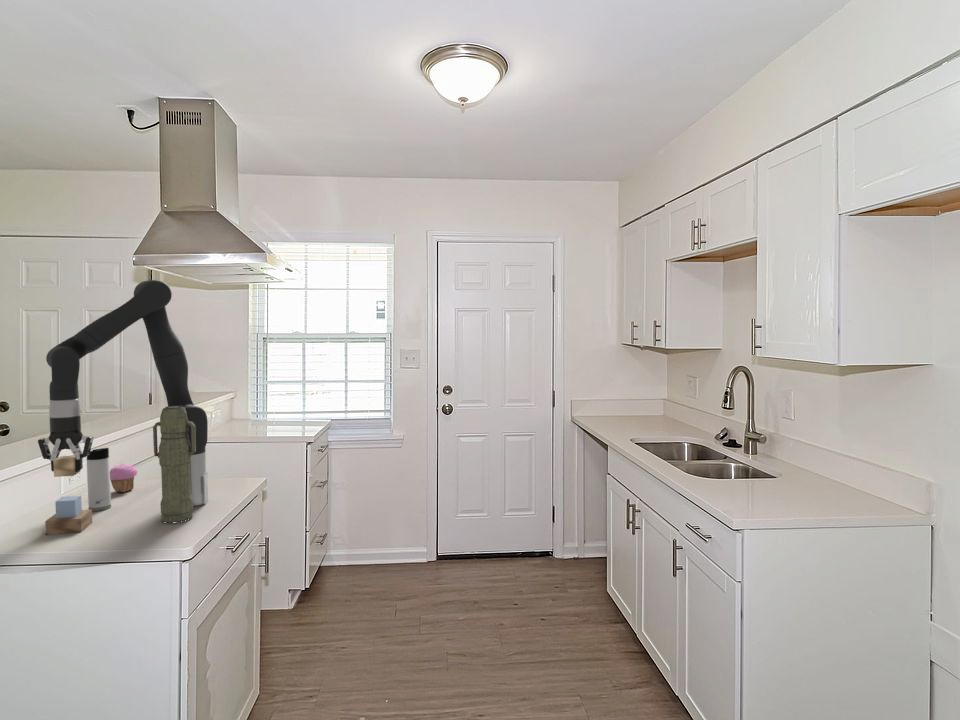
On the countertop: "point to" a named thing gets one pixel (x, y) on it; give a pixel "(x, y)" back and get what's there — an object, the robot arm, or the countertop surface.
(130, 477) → the cupcake
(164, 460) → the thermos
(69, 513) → the slate block
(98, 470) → the travel mug
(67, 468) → the oak block
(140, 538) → the countertop surface
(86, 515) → the walnut plinth
